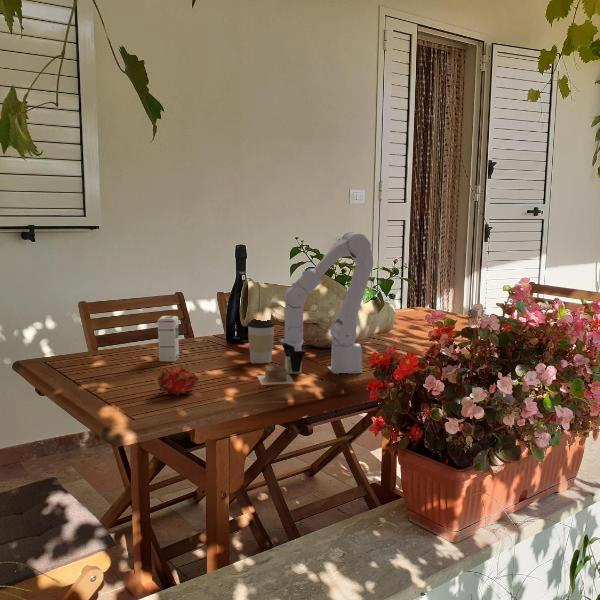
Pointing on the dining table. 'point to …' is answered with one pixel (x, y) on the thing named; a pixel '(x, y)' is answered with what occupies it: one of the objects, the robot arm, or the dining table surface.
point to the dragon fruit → (177, 381)
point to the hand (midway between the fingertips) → (293, 368)
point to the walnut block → (275, 373)
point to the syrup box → (168, 338)
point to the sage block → (288, 366)
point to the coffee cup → (260, 340)
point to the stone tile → (265, 382)
